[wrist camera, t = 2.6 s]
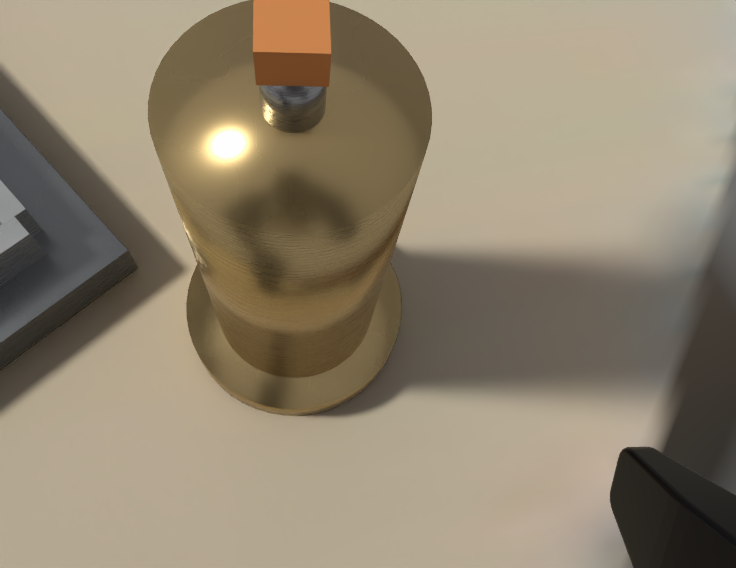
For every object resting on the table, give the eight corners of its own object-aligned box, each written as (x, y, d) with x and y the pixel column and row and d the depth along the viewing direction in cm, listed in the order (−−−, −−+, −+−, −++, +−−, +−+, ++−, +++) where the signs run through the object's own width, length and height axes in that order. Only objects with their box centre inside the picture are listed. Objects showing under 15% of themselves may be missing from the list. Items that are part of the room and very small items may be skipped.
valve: (403, 411, 22) (547, 234, 9) (187, 419, 22) (17, 236, 9) (389, 200, 25) (483, -159, 12) (197, 200, 25) (82, -183, 12)
